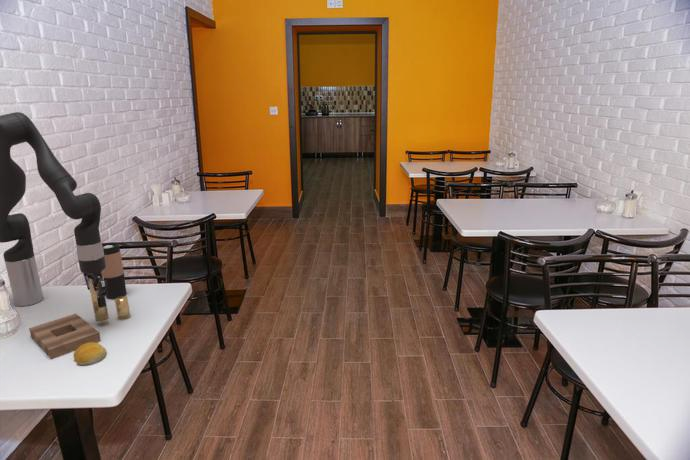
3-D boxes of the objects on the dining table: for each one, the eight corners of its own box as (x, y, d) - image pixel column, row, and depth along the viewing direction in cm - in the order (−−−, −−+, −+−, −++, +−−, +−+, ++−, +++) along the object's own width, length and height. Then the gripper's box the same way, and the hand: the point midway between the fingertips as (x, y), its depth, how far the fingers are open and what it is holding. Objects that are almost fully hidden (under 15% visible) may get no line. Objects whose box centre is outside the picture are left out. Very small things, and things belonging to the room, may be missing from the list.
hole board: (30, 336, 157) (28, 328, 157) (77, 321, 167) (75, 313, 166) (51, 358, 144) (49, 349, 143) (100, 340, 154) (99, 332, 153)
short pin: (115, 317, 169) (112, 298, 167) (127, 313, 172) (124, 295, 170) (120, 321, 167) (117, 302, 165) (132, 317, 169) (129, 298, 167)
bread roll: (80, 369, 139) (77, 357, 137) (72, 357, 145) (69, 345, 144) (110, 358, 144) (108, 346, 143) (101, 347, 150) (99, 335, 149)
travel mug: (100, 298, 185) (91, 247, 180) (116, 290, 192) (108, 241, 187) (116, 300, 183) (107, 249, 177) (131, 292, 189) (123, 243, 184)
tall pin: (93, 319, 164) (86, 280, 160) (106, 315, 167) (99, 276, 163) (98, 323, 162) (91, 283, 158) (110, 318, 164) (104, 279, 160)
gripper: (70, 254, 160) (79, 302, 165) (87, 264, 150) (96, 315, 155) (94, 248, 165) (102, 295, 170) (112, 257, 156) (120, 307, 161)
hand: (99, 304), depth 163 cm, fingers closed on tall pin, 4 cm apart
